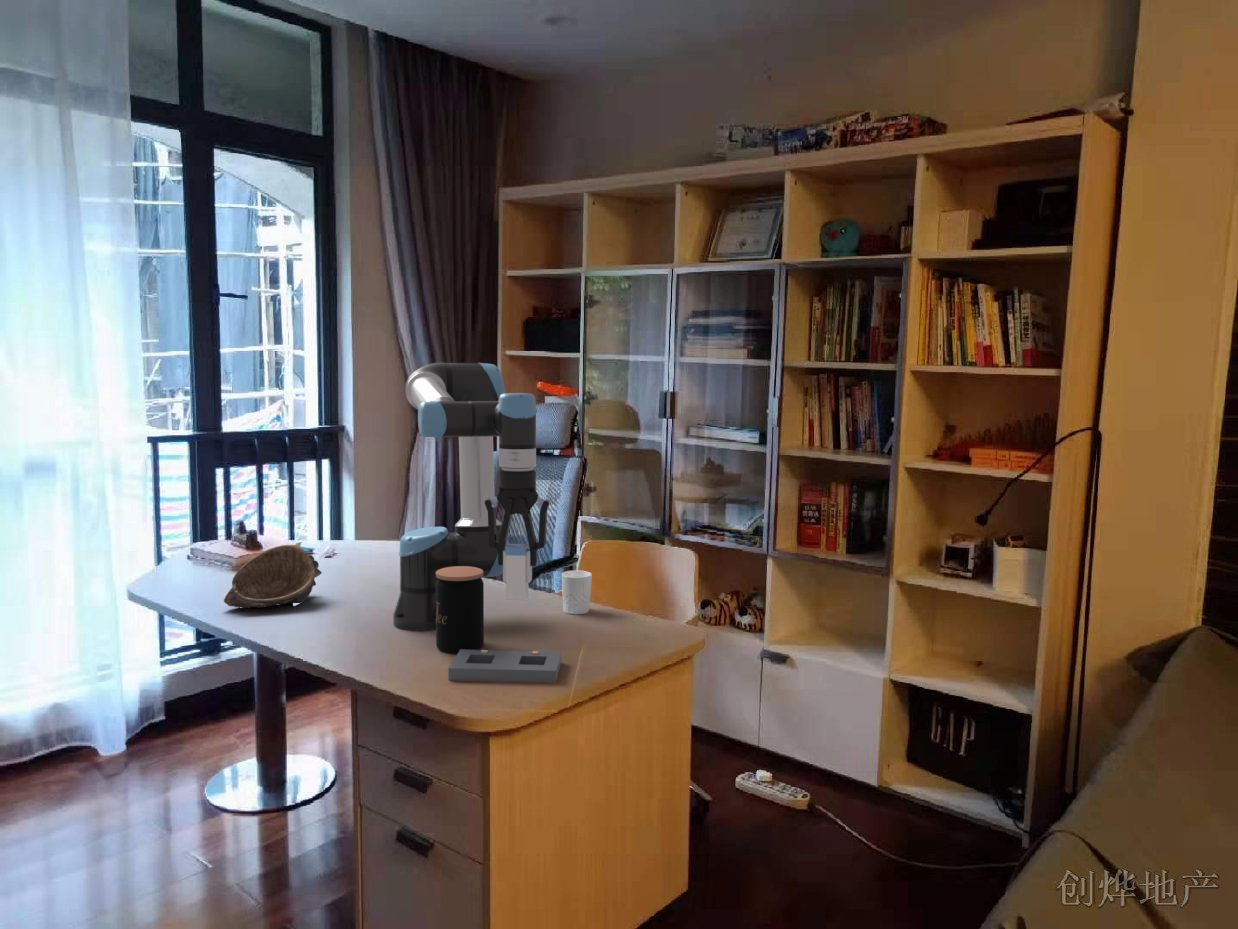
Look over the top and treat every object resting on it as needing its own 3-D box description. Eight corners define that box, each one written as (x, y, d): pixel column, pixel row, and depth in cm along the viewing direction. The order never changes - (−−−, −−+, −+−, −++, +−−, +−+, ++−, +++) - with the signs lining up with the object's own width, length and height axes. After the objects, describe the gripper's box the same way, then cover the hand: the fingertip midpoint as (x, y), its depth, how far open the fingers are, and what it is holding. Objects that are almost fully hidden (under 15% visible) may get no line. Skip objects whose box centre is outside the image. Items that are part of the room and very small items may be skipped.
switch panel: (448, 682, 187) (448, 666, 186) (460, 662, 198) (460, 648, 198) (555, 685, 186) (556, 669, 186) (561, 665, 198) (561, 650, 197)
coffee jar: (438, 641, 213) (438, 566, 211) (485, 641, 214) (484, 565, 212) (433, 656, 202) (432, 577, 200) (482, 656, 203) (481, 577, 201)
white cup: (587, 616, 235) (587, 578, 234) (557, 614, 237) (558, 576, 236) (594, 608, 243) (594, 571, 242) (565, 606, 245) (565, 569, 243)
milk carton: (505, 600, 188) (505, 547, 187) (509, 595, 192) (509, 543, 191) (525, 600, 187) (525, 548, 186) (528, 595, 192) (528, 544, 190)
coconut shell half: (234, 621, 228) (330, 581, 239) (211, 569, 233) (307, 533, 245) (239, 643, 240) (331, 604, 252) (217, 593, 246) (308, 557, 257)
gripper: (472, 470, 184) (472, 584, 186) (556, 471, 183) (556, 586, 185) (479, 466, 191) (480, 575, 193) (561, 467, 190) (560, 577, 193)
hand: (517, 580), depth 189 cm, fingers closed on milk carton, 4 cm apart
